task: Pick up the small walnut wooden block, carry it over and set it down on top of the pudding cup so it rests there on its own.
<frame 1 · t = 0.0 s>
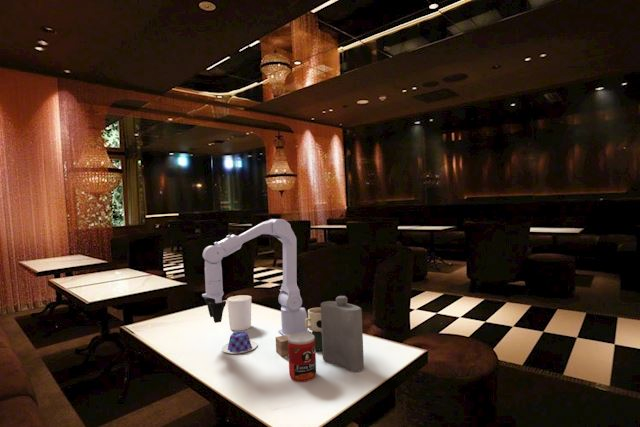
hand: (215, 319, 125), 10 cm above the table, tool pointing down, fingers open, 7 cm apart
character mug: (319, 349, 121), on the table
flask: (343, 363, 109), on the table
canned food: (302, 376, 102), on the table
pudding: (239, 349, 125), on the table
walnut block: (286, 353, 119), on the table
candle holder: (240, 327, 147), on the table
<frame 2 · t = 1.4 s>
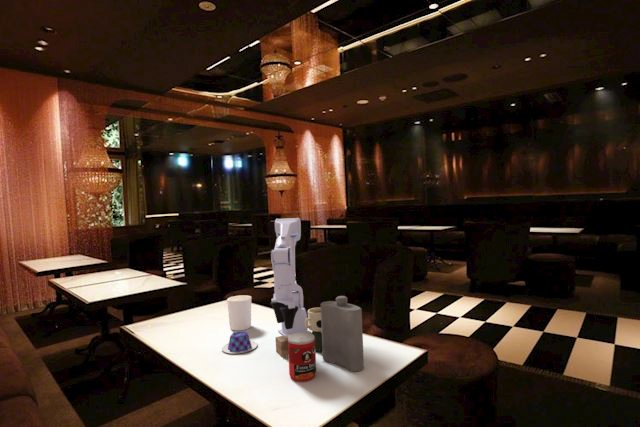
hand: (284, 325, 119), 9 cm above the table, tool pointing down, fingers open, 7 cm apart
nothing on the table moved.
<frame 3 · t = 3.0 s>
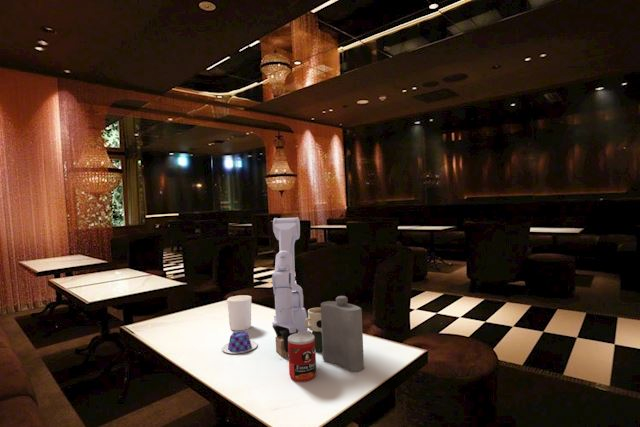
hand: (285, 348, 119), 1 cm above the table, tool pointing down, fingers closed on walnut block, 5 cm apart
walnut block: (286, 352, 119), on the table, touching gripper
everything else where it was.
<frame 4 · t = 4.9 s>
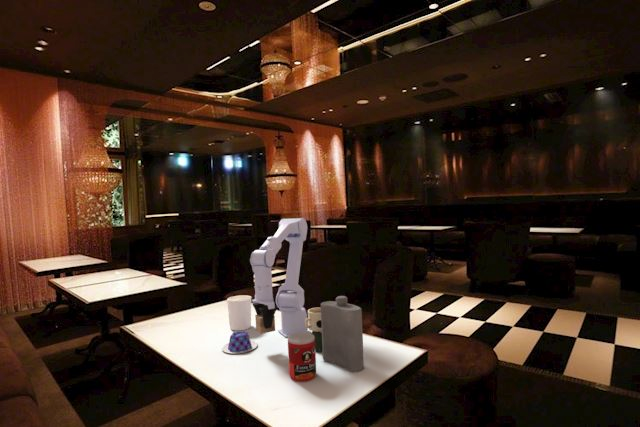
hand: (265, 325, 121), 8 cm above the table, tool pointing down, fingers closed on walnut block, 5 cm apart
walnut block: (265, 330, 121), point 7 cm above the table, touching gripper
everything else where it was.
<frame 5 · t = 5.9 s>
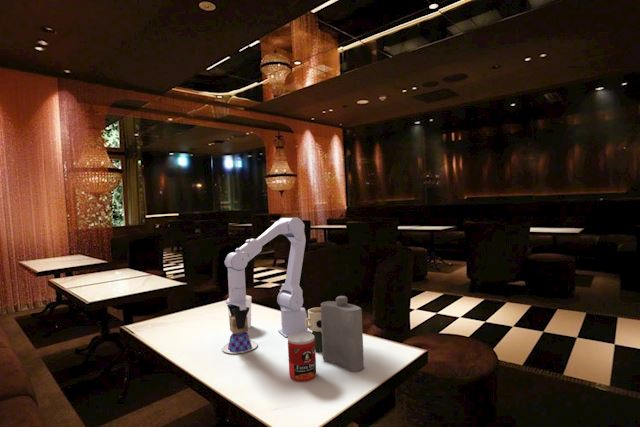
hand: (238, 326, 125), 7 cm above the table, tool pointing down, fingers closed on walnut block, 5 cm apart
walnut block: (238, 330, 125), point 6 cm above the table, touching gripper
everything else where it was.
when the fingers open (7 cm above the table, at t = 6.8 s): walnut block drops 1 cm, resting on pudding.
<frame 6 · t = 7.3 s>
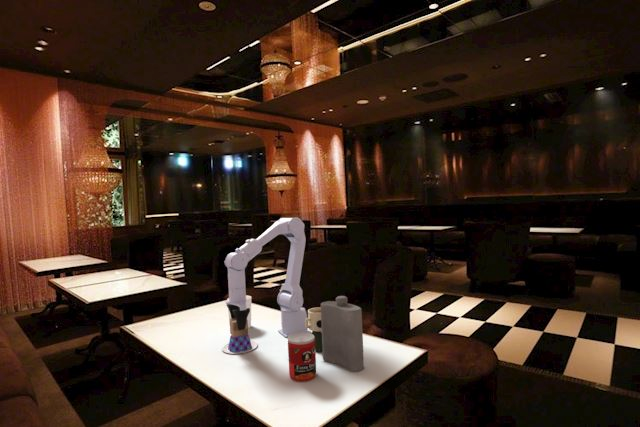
hand: (238, 326, 125), 7 cm above the table, tool pointing down, fingers open, 7 cm apart
pudding: (240, 349, 125), on the table, touching walnut block
walnut block: (239, 333, 125), point 5 cm above the table, touching pudding
everything else where it was.
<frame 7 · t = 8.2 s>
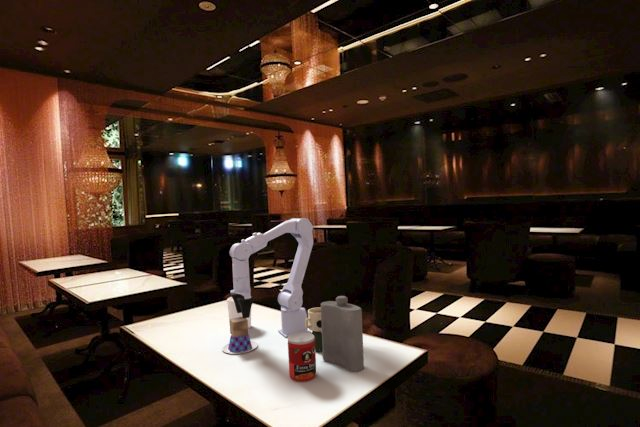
hand: (243, 315, 128), 10 cm above the table, tool pointing down, fingers open, 7 cm apart
nothing on the table moved.
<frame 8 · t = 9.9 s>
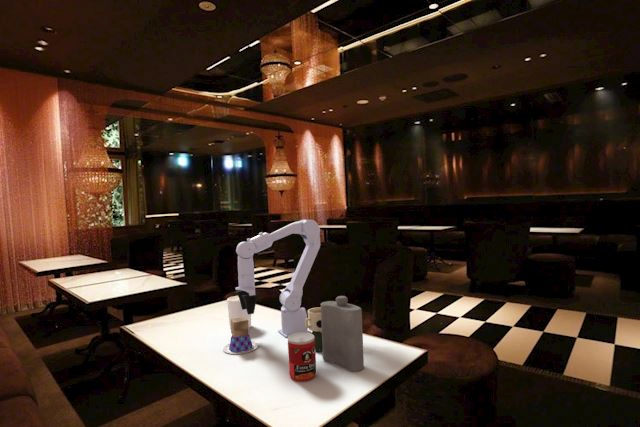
hand: (247, 311, 132), 10 cm above the table, tool pointing down, fingers open, 7 cm apart
nothing on the table moved.
at the end: walnut block point 4.8 cm above the table; walnut block 0.2 cm from the pudding (horizontally); the gripper is holding nothing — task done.
